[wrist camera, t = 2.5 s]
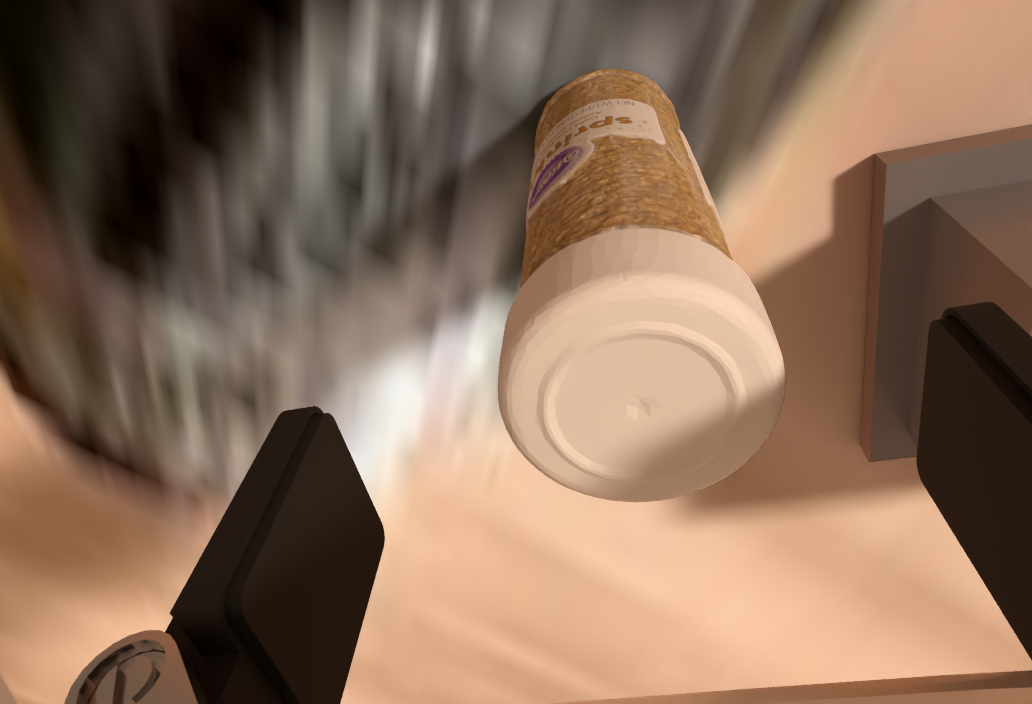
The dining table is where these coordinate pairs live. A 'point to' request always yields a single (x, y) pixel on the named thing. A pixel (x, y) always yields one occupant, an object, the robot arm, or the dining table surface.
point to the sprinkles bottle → (631, 308)
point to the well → (939, 264)
